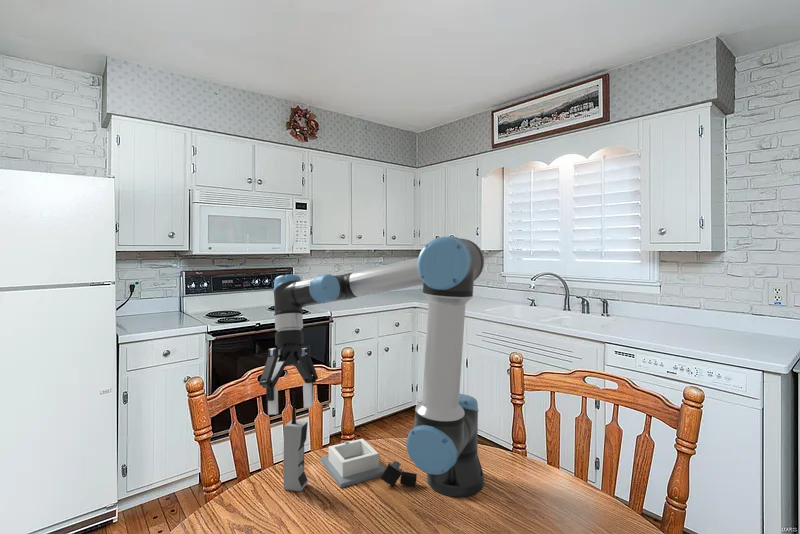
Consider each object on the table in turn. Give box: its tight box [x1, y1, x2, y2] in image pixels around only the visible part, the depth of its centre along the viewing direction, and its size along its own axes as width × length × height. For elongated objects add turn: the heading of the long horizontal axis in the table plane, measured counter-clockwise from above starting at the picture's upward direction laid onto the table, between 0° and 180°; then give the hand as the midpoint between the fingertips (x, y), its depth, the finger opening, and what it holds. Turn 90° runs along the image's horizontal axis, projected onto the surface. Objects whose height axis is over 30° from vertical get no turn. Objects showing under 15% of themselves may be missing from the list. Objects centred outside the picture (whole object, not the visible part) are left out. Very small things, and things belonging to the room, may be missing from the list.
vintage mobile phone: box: [283, 391, 309, 492], centre depth 106 cm, size 4×5×25 cm
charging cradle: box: [319, 438, 386, 488], centre depth 116 cm, size 16×14×5 cm
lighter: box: [379, 460, 418, 488], centre depth 108 cm, size 9×2×6 cm
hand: (291, 410), depth 109 cm, fingers open, 13 cm apart
